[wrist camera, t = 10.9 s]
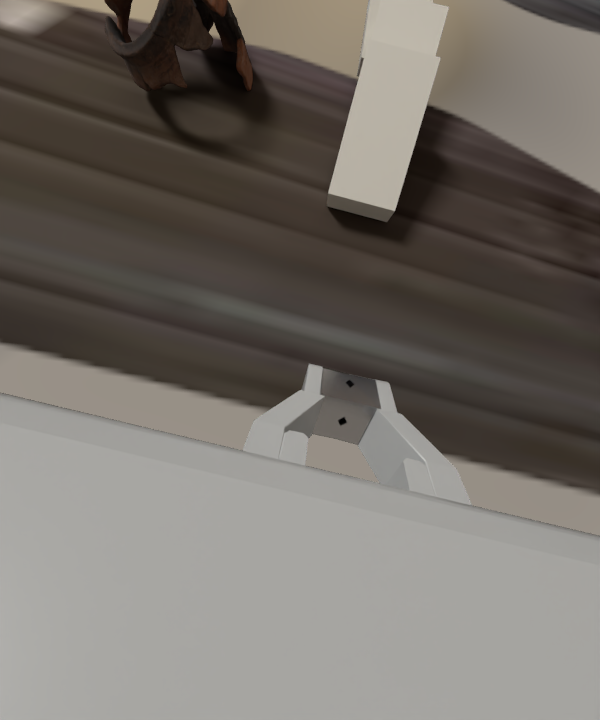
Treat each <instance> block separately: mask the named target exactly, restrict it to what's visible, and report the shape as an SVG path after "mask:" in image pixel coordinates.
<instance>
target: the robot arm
mask: <svg viewBox="0 0 600 720" xmlns="http://www.w3.org/2000/svg"><path fill="white" fill-rule="evenodd" d="M312 434H315V435H319V436H324V437H329V438H334V439H338V440H342V441H345V442H349V443H353V444H357V445H358V447H359V449H360V450H361V452H362V454H363V455H364V457H365V459H366V461H367V462H368V464H369V466H370V467H371V469H372V470H373V472H374V474H375V476H376V477H377V479H378V481H379V483H376V482H372V481H368V480H364V479H360V478H355V477H351V476H347V475H342V474H339V473H334V472H330V471H326V470H322V469H317V468H314V467H309V466H305V462H306V454H307V445H308V438H310V436H311V435H312ZM0 720H600V536H598V535H594V534H590V533H585V532H582V531H577V530H573V529H569V528H564V527H560V526H556V525H552V524H548V523H544V522H540V521H535V520H531V519H527V518H522V517H518V516H514V515H510V514H506V513H502V512H497V511H493V510H489V509H485V508H481V507H476V506H472V504H471V502H470V499H469V497H468V495H467V492H466V490H465V488H464V485H463V483H462V480H461V478H460V475H459V473H458V471H457V469H456V468H455V467H454V466H453V465H452V464H451V463H450V462H449V461H448V460H447V459H446V458H445V457H444V456H443V455H442V454H441V453H440V452H439V451H438V450H437V449H436V448H435V447H434V446H433V445H432V444H431V443H430V442H429V441H428V440H427V439H426V438H425V437H424V436H423V435H422V434H421V433H420V432H419V431H418V430H417V429H416V428H415V427H414V426H413V425H412V424H411V423H410V422H409V421H408V420H407V419H406V418H405V417H404V416H403V415H402V414H398V413H397V410H396V406H395V402H394V399H393V395H392V391H391V388H390V384H389V383H388V382H384V381H379V380H373V379H369V378H364V377H360V376H355V375H351V374H348V373H344V372H340V371H337V370H333V369H329V368H325V367H322V366H317V365H313V364H309V366H308V369H307V372H306V376H305V380H304V384H303V387H302V390H300V391H298V392H296V393H295V394H293V395H292V396H290V397H289V398H287V399H286V400H284V401H283V402H281V403H280V404H278V405H277V406H275V407H274V408H272V409H270V410H269V411H267V412H266V413H264V414H263V415H261V416H260V417H258V418H257V419H255V420H254V422H253V424H252V427H251V430H250V433H249V435H248V437H247V440H246V443H245V445H244V448H243V450H238V449H234V448H230V447H226V446H221V445H217V444H213V443H209V442H204V441H200V440H196V439H192V438H188V437H184V436H179V435H175V434H171V433H167V432H163V431H158V430H154V429H150V428H146V427H142V426H137V425H133V424H129V423H125V422H121V421H117V420H113V419H108V418H104V417H100V416H96V415H92V414H87V413H83V412H79V411H75V410H71V409H67V408H62V407H58V406H54V405H50V404H46V403H41V402H37V401H33V400H29V399H25V398H20V397H16V396H12V395H8V394H4V393H0Z"/></svg>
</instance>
